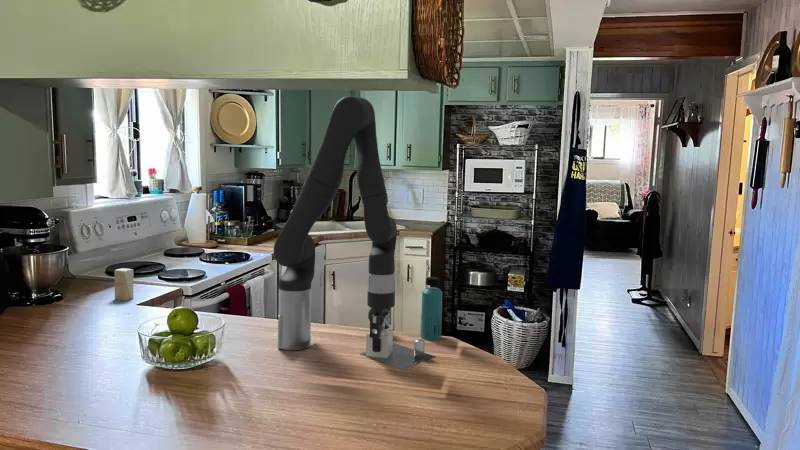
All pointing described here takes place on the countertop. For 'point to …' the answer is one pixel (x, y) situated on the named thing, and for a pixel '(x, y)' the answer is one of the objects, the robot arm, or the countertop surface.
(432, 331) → the beverage bottle
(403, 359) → the plate
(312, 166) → the robot arm
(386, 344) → the white box
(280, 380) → the countertop surface
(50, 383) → the countertop surface
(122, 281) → the cream upright cylinder
